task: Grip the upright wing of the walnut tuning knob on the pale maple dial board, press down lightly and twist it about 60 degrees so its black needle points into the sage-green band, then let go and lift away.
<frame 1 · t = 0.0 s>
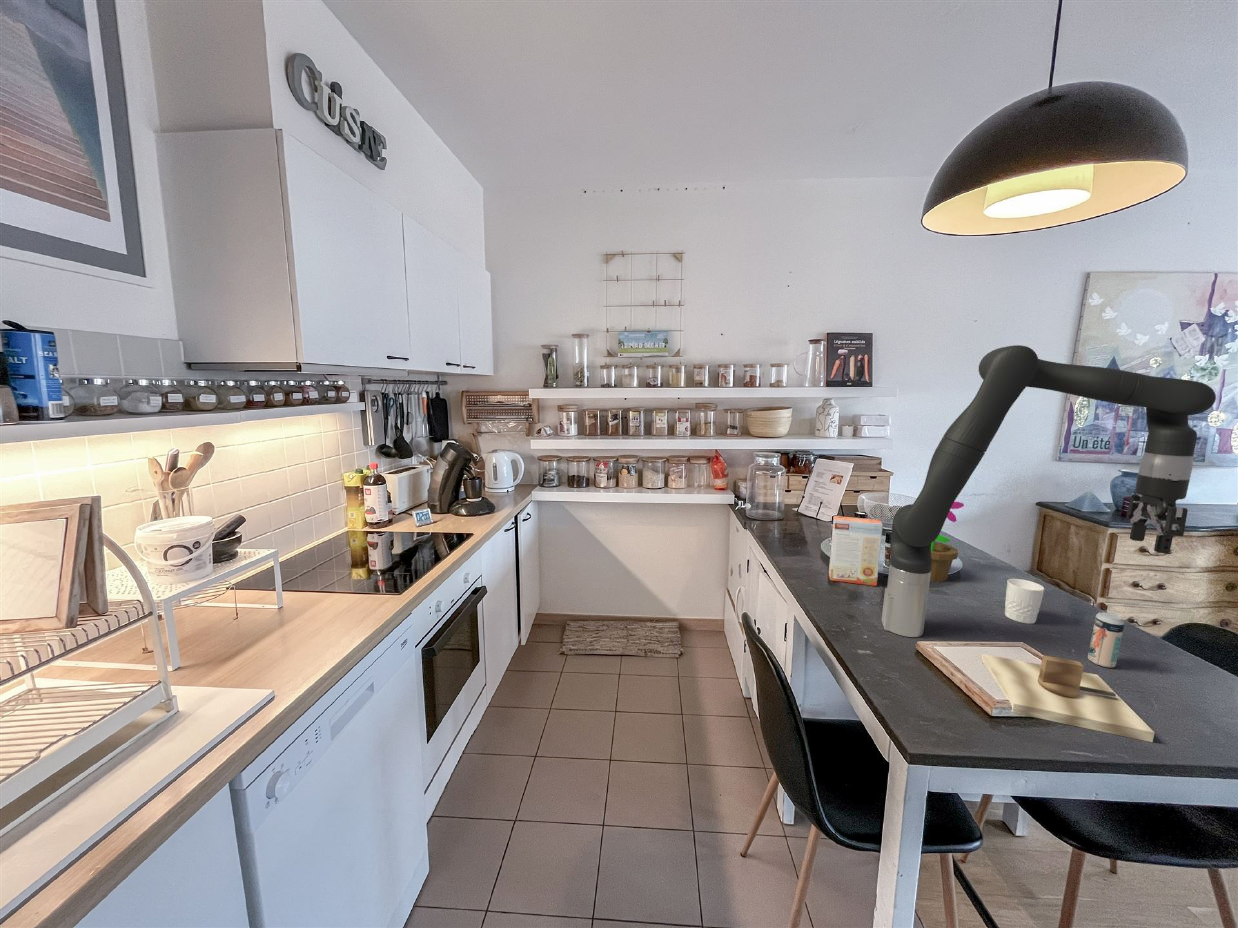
hand: (1148, 546, 107), 29 cm above the table, fingers open, 8 cm apart
white cup: (1019, 618, 135), on the table
dial board: (1056, 696, 101), on the table
tuning knob: (1078, 677, 99), point 5 cm above the table, hinge at 0.0°
beer can: (1100, 663, 113), on the table
flowerpot: (928, 576, 164), on the table
cracker box: (851, 580, 159), on the table
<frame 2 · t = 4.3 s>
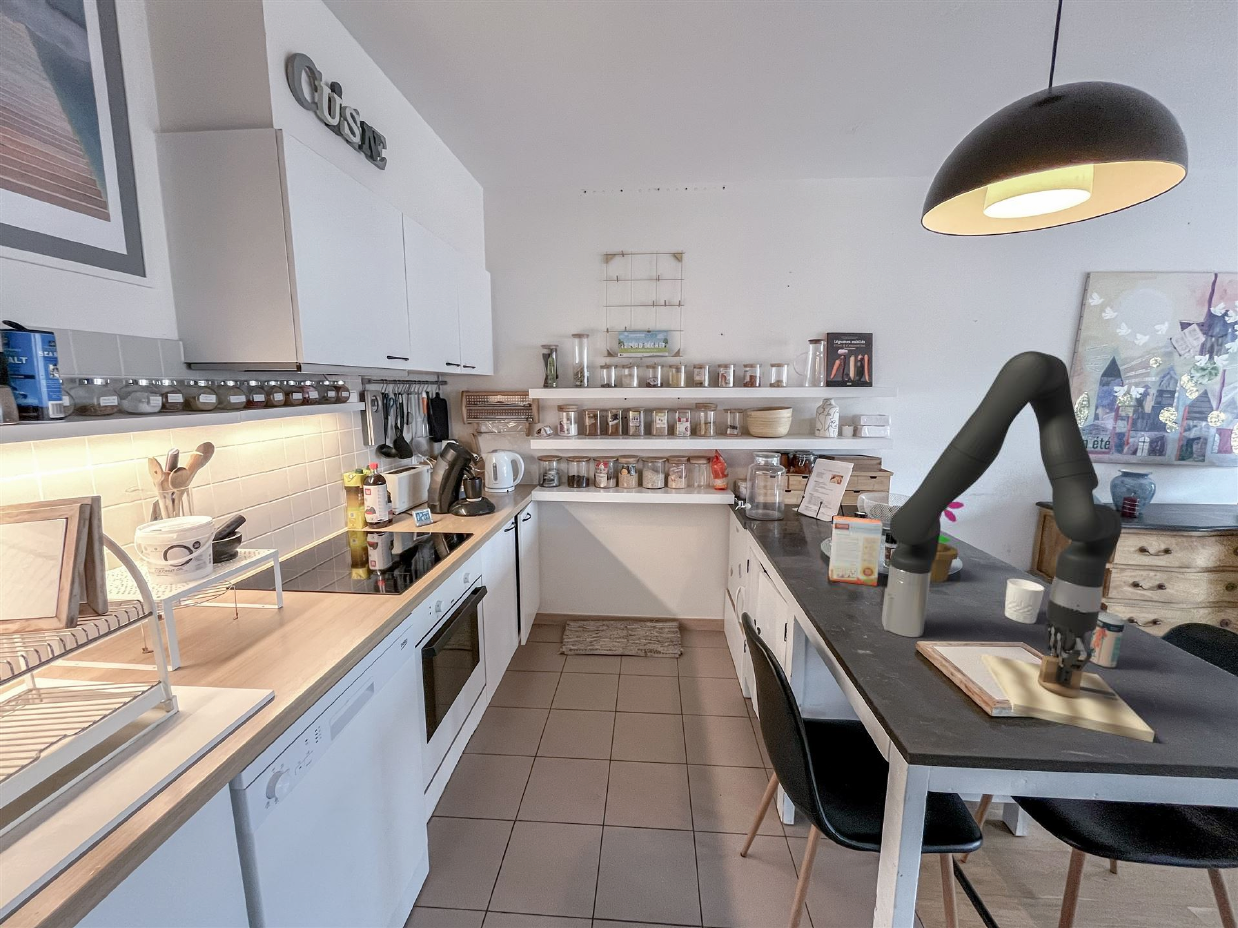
hand: (1059, 679, 100), 4 cm above the table, fingers closed on tuning knob, 2 cm apart
tuning knob: (1078, 677, 99), point 5 cm above the table, hinge at 0.0°, touching gripper
everything else where it was.
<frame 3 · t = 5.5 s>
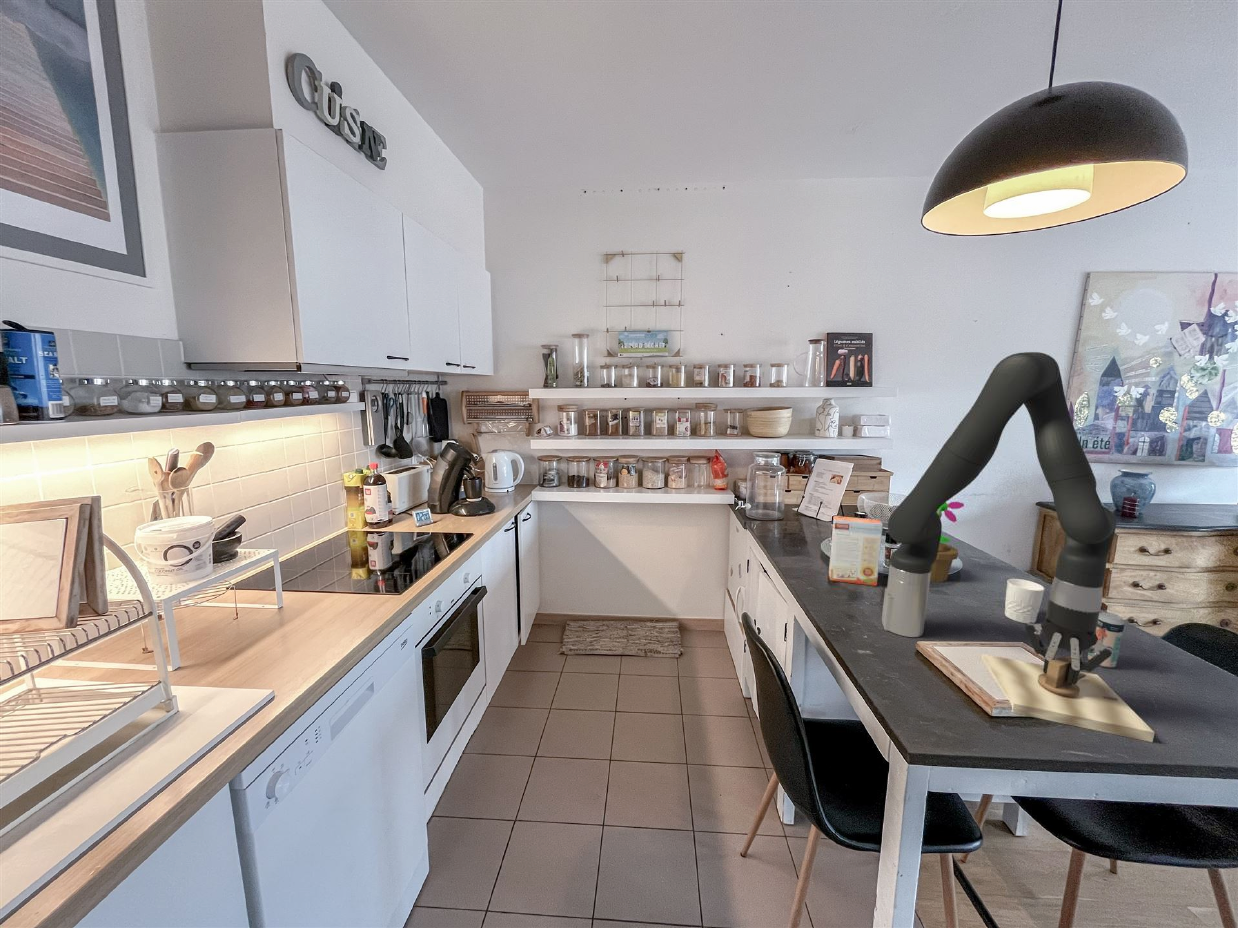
hand: (1059, 679, 100), 4 cm above the table, fingers closed on tuning knob, 2 cm apart
tuning knob: (1068, 670, 101), point 5 cm above the table, hinge at 42.8°, touching gripper
everything else where it was.
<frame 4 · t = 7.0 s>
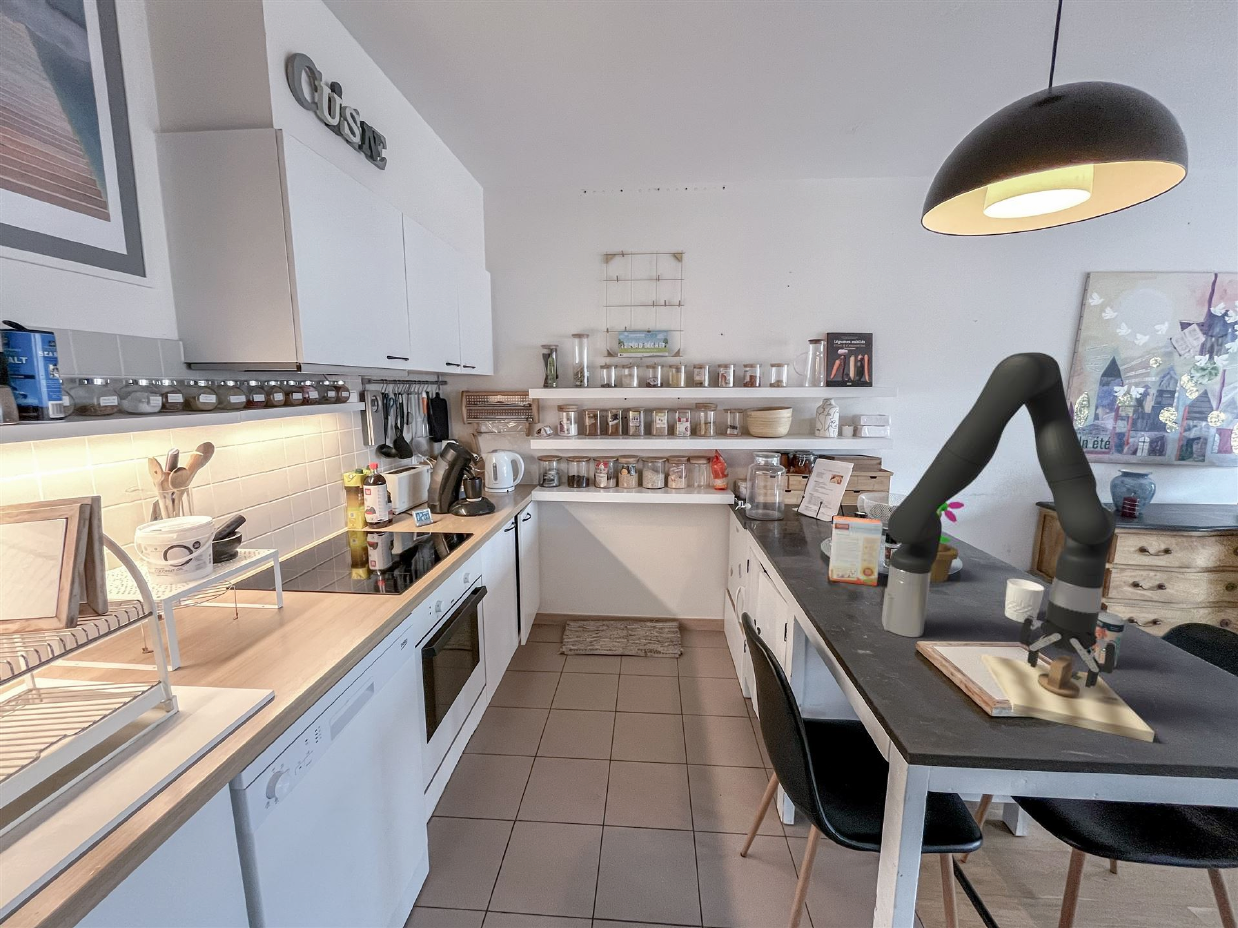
hand: (1060, 675, 100), 5 cm above the table, fingers open, 8 cm apart
tuning knob: (1066, 669, 101), point 5 cm above the table, hinge at 50.7°
everything else where it was.
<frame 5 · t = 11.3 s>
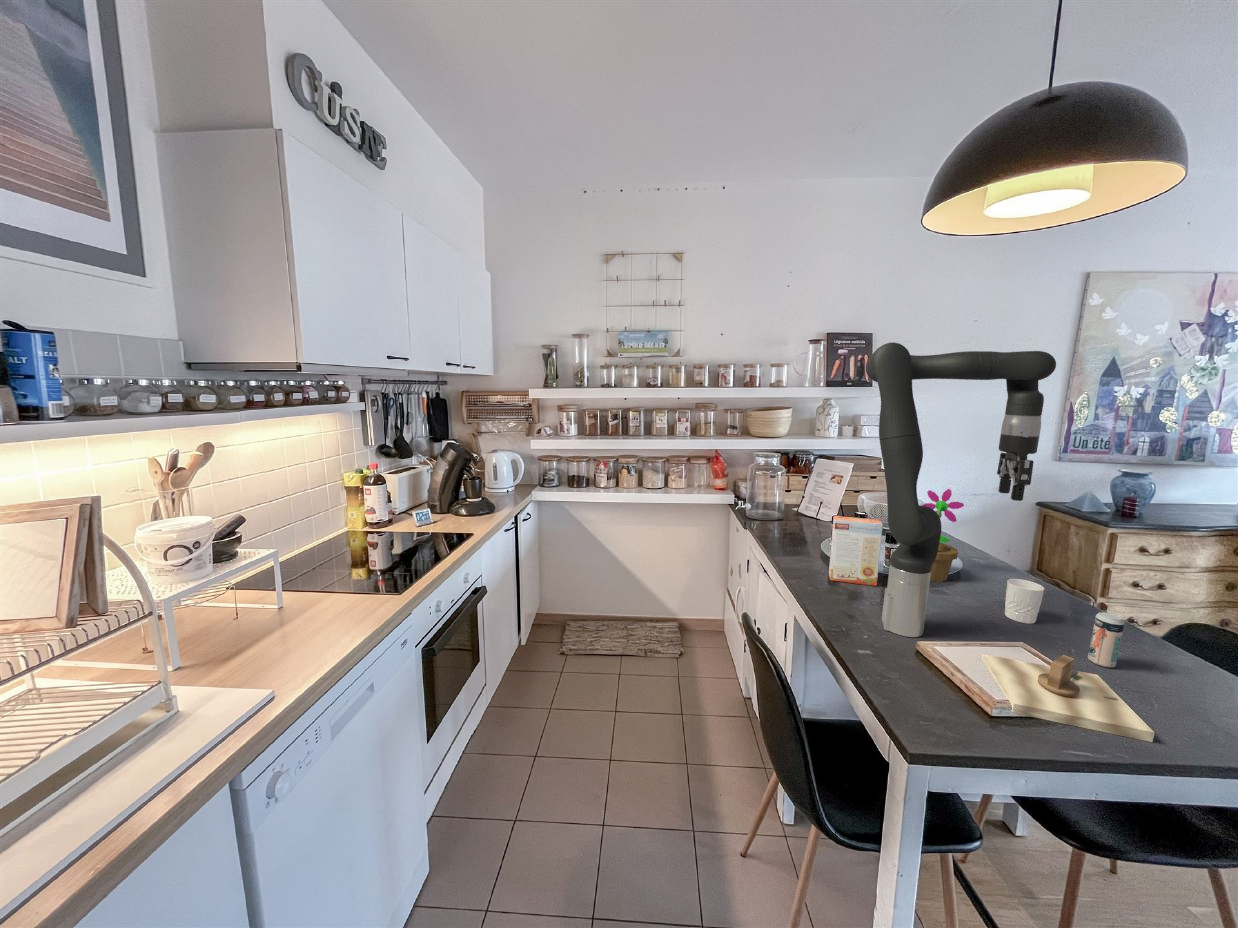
hand: (1009, 496, 123), 36 cm above the table, fingers open, 8 cm apart
tuning knob: (1066, 669, 101), point 5 cm above the table, hinge at 51.1°
everything else where it was.
at the end: tuning knob at +51° (first picture: +0°); the gripper is holding nothing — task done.
